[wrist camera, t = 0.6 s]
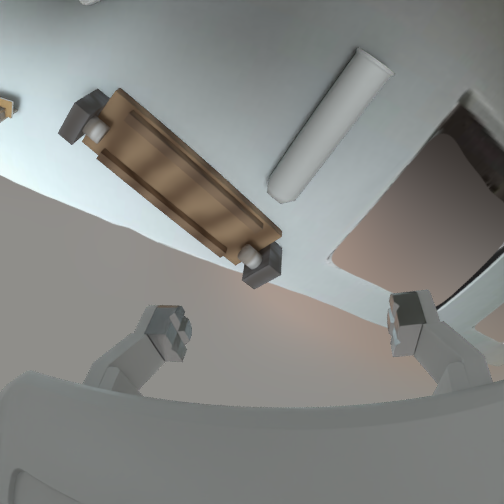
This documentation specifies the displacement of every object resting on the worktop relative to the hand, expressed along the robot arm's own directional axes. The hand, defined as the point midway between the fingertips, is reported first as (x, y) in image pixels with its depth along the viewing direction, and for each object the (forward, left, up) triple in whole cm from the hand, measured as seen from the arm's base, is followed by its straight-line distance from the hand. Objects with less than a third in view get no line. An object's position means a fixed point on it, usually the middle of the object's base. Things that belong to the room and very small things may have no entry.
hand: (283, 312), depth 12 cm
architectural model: (-35, -33, -36) cm, 60 cm away
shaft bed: (+1, -22, -35) cm, 41 cm away
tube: (+8, 0, -35) cm, 36 cm away
